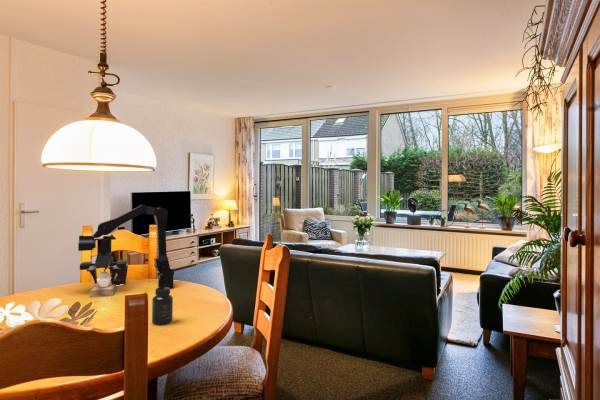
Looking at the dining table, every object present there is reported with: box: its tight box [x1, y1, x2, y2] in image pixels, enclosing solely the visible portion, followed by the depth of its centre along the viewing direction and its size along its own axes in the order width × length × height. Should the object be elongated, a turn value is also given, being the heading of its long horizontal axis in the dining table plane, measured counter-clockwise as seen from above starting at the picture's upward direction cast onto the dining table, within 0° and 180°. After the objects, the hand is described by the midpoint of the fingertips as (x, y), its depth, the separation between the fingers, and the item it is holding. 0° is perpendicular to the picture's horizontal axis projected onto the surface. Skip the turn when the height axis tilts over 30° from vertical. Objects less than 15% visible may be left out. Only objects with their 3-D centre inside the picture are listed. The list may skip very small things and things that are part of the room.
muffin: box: [96, 270, 111, 287], centre depth 165 cm, size 6×6×7 cm
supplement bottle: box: [151, 287, 174, 326], centre depth 127 cm, size 7×7×12 cm
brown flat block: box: [90, 284, 117, 298], centre depth 165 cm, size 9×9×3 cm
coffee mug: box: [103, 263, 129, 285], centre depth 185 cm, size 12×9×10 cm
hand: (104, 283), depth 165 cm, fingers closed on muffin, 6 cm apart
